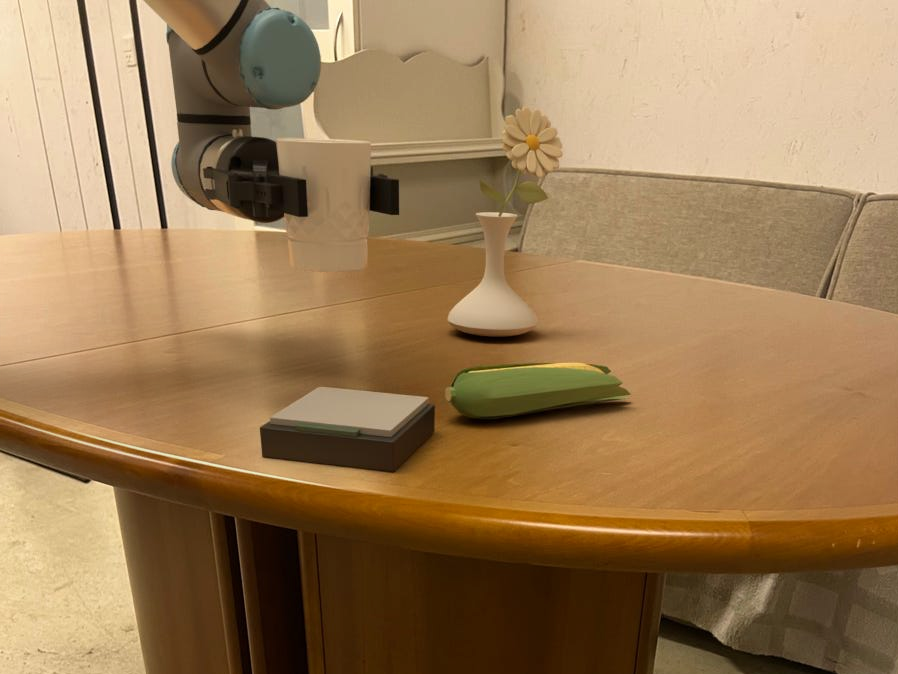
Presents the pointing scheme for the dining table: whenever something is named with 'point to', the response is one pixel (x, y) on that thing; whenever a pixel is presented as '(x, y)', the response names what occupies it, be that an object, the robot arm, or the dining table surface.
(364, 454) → the scale
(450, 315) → the flower in vase
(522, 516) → the dining table surface
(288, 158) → the white cup
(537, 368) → the edible corn
